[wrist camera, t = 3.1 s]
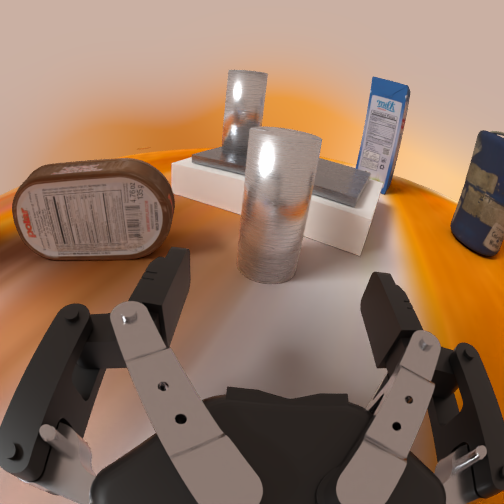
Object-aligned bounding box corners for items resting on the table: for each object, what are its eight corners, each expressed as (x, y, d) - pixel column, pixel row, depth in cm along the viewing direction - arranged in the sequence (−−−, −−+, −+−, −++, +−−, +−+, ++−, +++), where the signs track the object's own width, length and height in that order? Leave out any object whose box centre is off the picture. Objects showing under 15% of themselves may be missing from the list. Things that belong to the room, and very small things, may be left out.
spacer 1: (214, 150, 36) (221, 69, 31) (234, 145, 40) (241, 72, 34) (246, 156, 35) (256, 71, 29) (264, 151, 39) (274, 75, 33)
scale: (171, 192, 36) (171, 163, 34) (237, 166, 49) (240, 144, 46) (359, 256, 27) (371, 220, 25) (376, 206, 40) (383, 182, 38)
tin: (175, 244, 26) (175, 153, 21) (175, 264, 23) (172, 163, 19) (34, 247, 23) (17, 167, 18) (22, 266, 20) (-1, 179, 16)
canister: (452, 223, 40) (481, 124, 30) (496, 249, 34) (530, 149, 25) (442, 237, 34) (478, 117, 25) (494, 269, 29) (538, 147, 19)
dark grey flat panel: (191, 162, 34) (191, 154, 34) (244, 147, 44) (244, 141, 44) (354, 207, 27) (357, 197, 26) (369, 179, 37) (370, 173, 36)
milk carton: (384, 194, 46) (408, 85, 35) (352, 183, 49) (372, 76, 38) (390, 183, 53) (410, 92, 43) (363, 174, 56) (380, 83, 45)
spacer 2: (225, 268, 23) (235, 129, 18) (254, 243, 27) (268, 125, 21) (281, 292, 22) (309, 144, 16) (303, 261, 25) (329, 138, 20)
